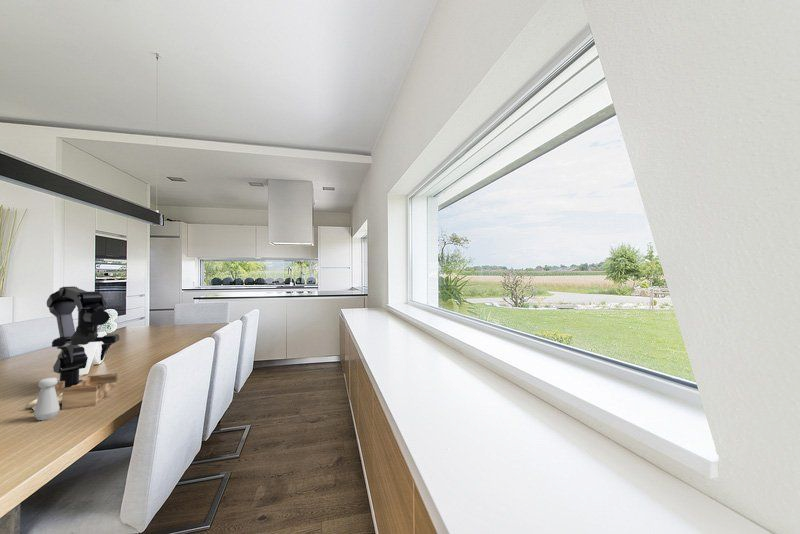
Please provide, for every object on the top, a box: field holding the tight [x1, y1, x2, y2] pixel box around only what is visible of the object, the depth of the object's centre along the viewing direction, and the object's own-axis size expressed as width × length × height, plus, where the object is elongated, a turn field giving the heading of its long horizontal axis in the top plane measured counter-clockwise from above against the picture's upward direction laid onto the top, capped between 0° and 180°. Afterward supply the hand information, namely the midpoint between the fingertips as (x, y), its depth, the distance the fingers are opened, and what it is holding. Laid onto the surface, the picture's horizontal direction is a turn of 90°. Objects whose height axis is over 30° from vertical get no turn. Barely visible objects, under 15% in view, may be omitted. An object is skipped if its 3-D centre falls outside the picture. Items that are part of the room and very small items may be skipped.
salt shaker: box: [33, 377, 61, 422], centre depth 106 cm, size 6×6×13 cm
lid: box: [26, 380, 66, 411], centre depth 117 cm, size 17×9×6 cm, turn 27°
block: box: [98, 373, 119, 384], centre depth 122 cm, size 2×5×2 cm, turn 117°
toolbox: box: [61, 372, 118, 411], centre depth 123 cm, size 22×9×7 cm, turn 27°
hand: (86, 361), depth 128 cm, fingers open, 9 cm apart
